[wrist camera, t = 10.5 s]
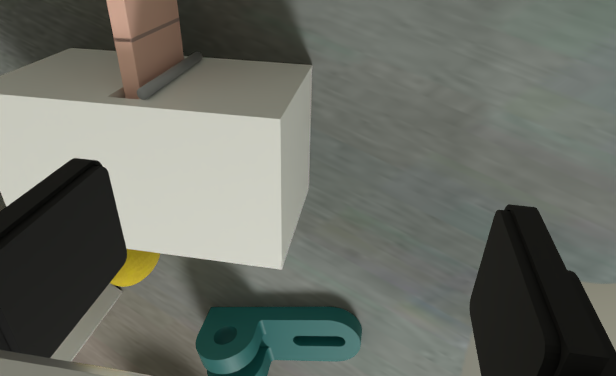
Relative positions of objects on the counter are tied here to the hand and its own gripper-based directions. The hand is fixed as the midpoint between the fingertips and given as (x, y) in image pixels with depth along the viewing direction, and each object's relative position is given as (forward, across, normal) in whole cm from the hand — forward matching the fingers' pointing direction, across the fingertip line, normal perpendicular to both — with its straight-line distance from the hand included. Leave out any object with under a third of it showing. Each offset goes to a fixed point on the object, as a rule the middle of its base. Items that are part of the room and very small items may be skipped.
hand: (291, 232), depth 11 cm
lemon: (+28, +22, +24) cm, 43 cm away
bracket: (+29, +6, +36) cm, 46 cm away
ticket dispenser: (+28, +15, +10) cm, 34 cm away
